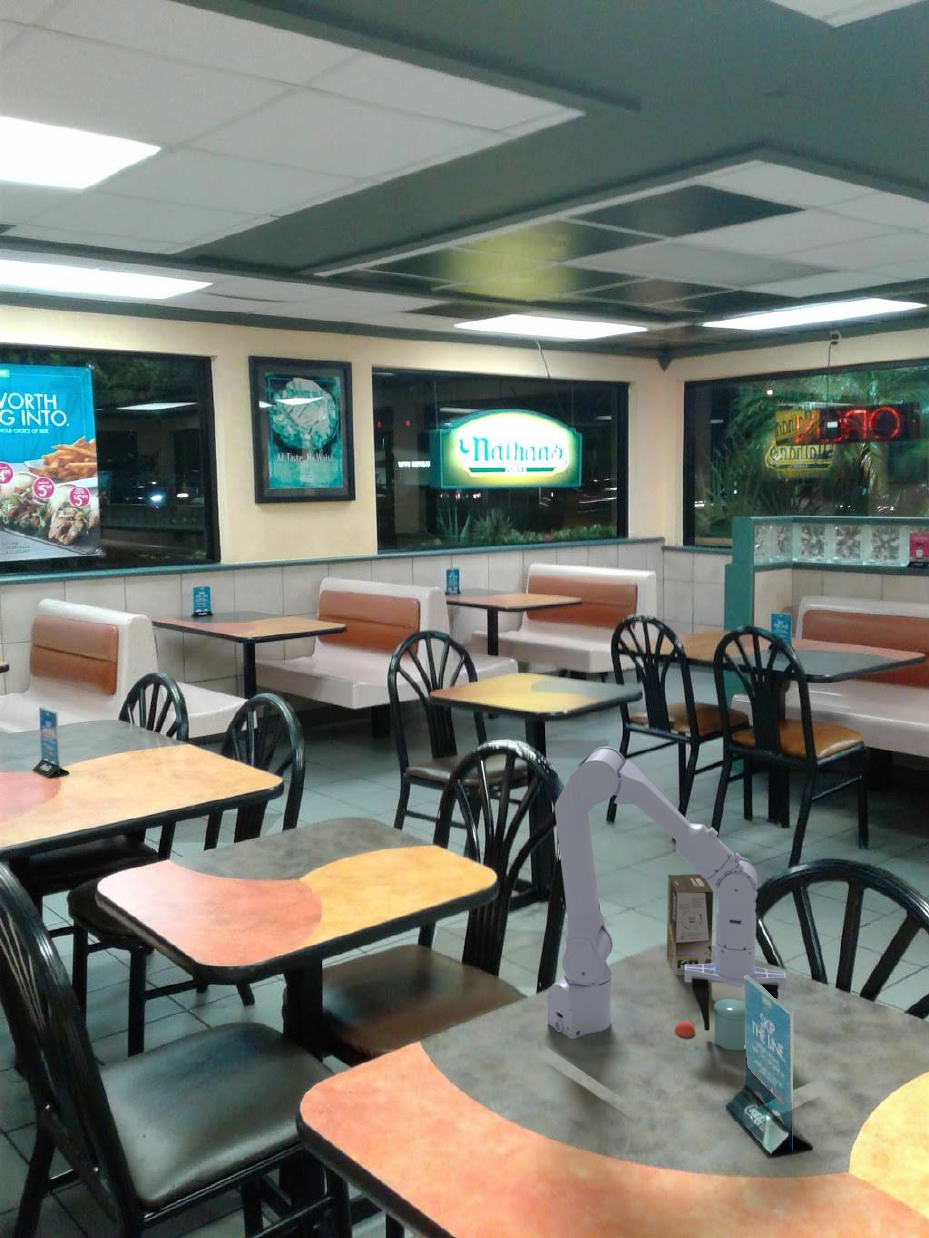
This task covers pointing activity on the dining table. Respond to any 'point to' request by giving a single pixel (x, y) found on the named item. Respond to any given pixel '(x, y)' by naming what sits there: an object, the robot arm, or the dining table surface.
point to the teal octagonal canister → (729, 1024)
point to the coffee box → (689, 921)
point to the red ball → (684, 1029)
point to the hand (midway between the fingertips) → (733, 1029)
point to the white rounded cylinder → (726, 992)
